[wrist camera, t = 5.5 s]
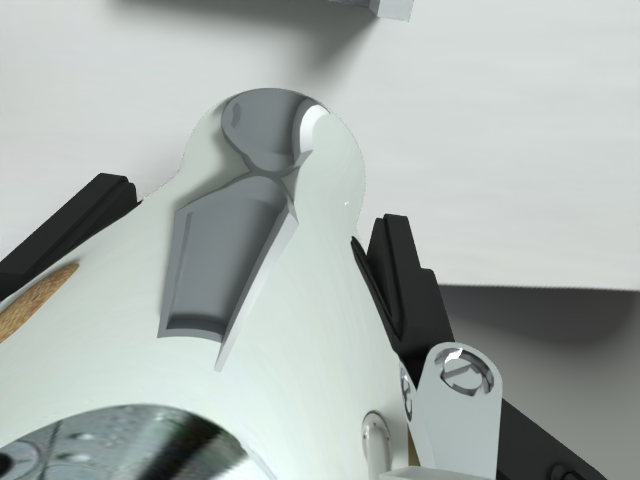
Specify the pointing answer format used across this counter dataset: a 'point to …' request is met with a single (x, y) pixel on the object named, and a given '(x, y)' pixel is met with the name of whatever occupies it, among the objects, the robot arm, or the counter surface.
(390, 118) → the counter surface
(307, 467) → the beer glass
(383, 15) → the guarded tray
